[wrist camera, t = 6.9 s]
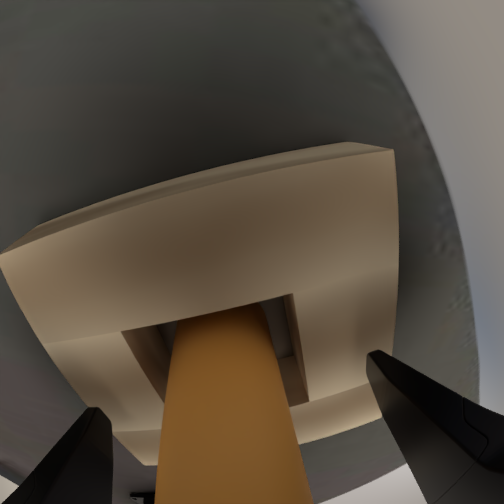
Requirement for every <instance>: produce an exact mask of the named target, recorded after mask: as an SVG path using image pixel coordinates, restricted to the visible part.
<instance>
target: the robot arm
mask: <svg viewBox="0 0 504 504" xmlns="http://www.w3.org/2000/svg"><path fill="white" fill-rule="evenodd" d="M366 375H367V378H368V380H369V383H370V385H371V388H372V390H373V393H374V396H375V398H376V401H377V403H378V406H379V409H380V411H381V414H382V416H383V418H384V420H385V421H386V423H387V425H388V427H389V429H390V431H391V433H392V435H393V437H394V438H395V440H396V442H397V444H398V446H399V448H400V450H401V452H402V454H403V456H404V458H405V460H406V462H407V464H408V465H409V468H410V469H411V471H412V473H413V475H414V477H415V479H416V481H417V483H418V485H419V487H420V489H421V491H422V493H423V495H424V497H425V500H426V502H427V504H504V416H503V415H501V414H498V413H496V412H493V411H491V410H489V409H486V408H484V407H482V406H480V405H478V404H476V403H474V402H472V401H470V400H469V399H467V398H465V397H462V396H461V395H459V394H458V393H456V392H454V391H452V390H450V389H449V388H447V387H445V386H443V385H441V384H440V383H438V382H436V381H434V380H433V379H431V378H429V377H427V376H426V375H424V374H422V373H420V372H418V371H417V370H415V369H413V368H411V367H410V366H408V365H406V364H404V363H403V362H401V361H399V360H397V359H396V358H394V357H392V356H390V355H389V354H387V353H385V352H384V351H382V350H379V349H377V350H374V351H371V352H369V353H368V354H367V356H366ZM112 480H113V440H112V423H111V421H110V419H109V418H108V417H107V416H106V414H105V413H104V412H103V411H102V410H101V409H100V408H99V407H88V408H87V409H86V410H85V411H84V412H83V414H82V415H81V416H80V417H79V418H78V419H77V420H76V422H75V423H74V424H73V425H72V426H71V427H70V428H69V430H68V431H67V432H66V433H65V434H64V435H63V436H62V438H61V439H60V440H59V441H58V442H57V443H56V445H55V446H54V447H53V448H52V449H51V450H50V451H49V453H48V454H47V455H46V456H45V457H44V458H43V460H42V461H41V462H40V463H39V464H38V465H37V467H36V468H35V469H34V470H33V471H32V472H31V474H30V475H29V476H28V477H27V478H26V479H25V480H24V482H23V483H22V484H21V485H20V486H19V487H18V488H17V489H16V490H15V491H14V492H13V493H12V494H11V495H10V496H9V497H8V498H7V499H6V500H5V501H4V502H3V503H2V504H112ZM130 499H131V500H133V501H135V502H136V503H138V504H155V495H153V494H130Z"/></svg>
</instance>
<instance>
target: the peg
mask: <svg viewBox="0 0 504 504" xmlns="http://www.w3.org/2000/svg"><path fill="white" fill-rule="evenodd" d="M155 504H314V503H313V499H312V495H311V491H310V487H309V483H308V480H307V476H306V472H305V468H304V464H303V460H302V456H301V452H300V448H299V444H298V441H297V437H296V433H295V429H294V425H293V421H292V417H291V413H290V409H289V405H288V401H287V397H286V393H285V390H284V386H283V382H282V378H281V374H280V370H279V366H278V362H277V358H276V354H275V350H274V346H273V342H272V338H271V334H270V330H269V327H268V323H267V319H266V315H265V312H264V310H263V308H262V307H261V305H260V304H259V303H258V302H255V303H251V304H247V305H242V306H238V307H234V308H230V309H225V310H221V311H217V312H212V313H208V314H203V315H199V316H194V317H190V318H185V319H180V320H177V326H176V332H175V338H174V343H173V350H172V356H171V362H170V369H169V375H168V382H167V389H166V396H165V404H164V412H163V420H162V428H161V437H160V446H159V456H158V466H157V478H156V490H155Z"/></svg>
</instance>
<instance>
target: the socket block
mask: <svg viewBox="0 0 504 504" xmlns="http://www.w3.org/2000/svg"><path fill="white" fill-rule="evenodd" d="M0 268H1V270H2V272H3V274H4V276H5V279H6V281H7V283H8V285H9V287H10V289H11V291H12V293H13V295H14V297H15V299H16V301H17V302H18V304H19V306H20V308H21V310H22V312H23V313H24V315H25V317H26V319H27V320H28V322H29V324H30V326H31V327H32V329H33V331H34V332H35V334H36V336H37V337H38V339H39V340H40V342H41V343H42V345H43V347H44V348H45V350H46V351H47V353H48V354H49V356H50V357H51V359H52V360H53V362H54V363H55V364H56V366H57V367H58V369H59V370H60V371H61V373H62V374H63V376H64V377H65V378H66V380H67V381H68V382H69V384H70V385H71V386H72V387H73V389H74V390H75V391H76V393H77V394H78V395H79V396H80V398H81V399H82V400H83V401H84V403H85V404H86V405H87V406H88V407H99V408H100V409H101V410H102V411H103V412H104V413H105V414H106V416H107V417H108V418H109V419H110V421H111V423H112V434H113V435H114V436H115V437H116V438H117V439H118V440H119V441H120V442H121V443H122V444H123V445H124V446H125V447H126V448H127V449H128V450H129V451H130V452H131V453H132V454H133V455H134V456H135V457H136V458H137V459H138V460H139V461H140V462H141V463H142V464H144V465H158V456H159V446H160V437H161V428H162V420H163V412H164V404H165V396H166V389H167V382H168V375H169V369H170V362H171V356H172V350H173V343H174V338H175V332H176V326H177V320H180V319H185V318H190V317H194V316H199V315H203V314H208V313H212V312H217V311H221V310H225V309H230V308H234V307H238V306H242V305H247V304H251V303H255V302H258V303H259V304H260V305H261V307H262V308H263V310H264V312H265V315H266V319H267V323H268V327H269V330H270V334H271V338H272V342H273V346H274V350H275V354H276V358H277V362H278V366H279V370H280V374H281V378H282V382H283V386H284V390H285V393H286V397H287V401H288V405H289V409H290V413H291V417H292V421H293V425H294V429H295V433H296V437H297V441H298V444H303V443H307V442H310V441H314V440H317V439H321V438H324V437H328V436H331V435H334V434H337V433H340V432H343V431H346V430H349V429H352V428H355V427H358V426H361V425H363V424H366V423H369V422H371V421H374V420H376V419H379V418H381V416H382V414H381V411H380V409H379V406H378V403H377V401H376V398H375V396H374V393H373V390H372V388H371V385H370V383H369V380H368V378H367V375H366V356H367V354H368V353H369V352H371V351H374V350H377V349H379V350H382V351H384V352H385V353H387V354H389V355H390V356H392V349H393V341H394V331H395V321H396V308H397V293H398V269H399V219H398V195H397V180H396V168H395V157H394V150H393V149H388V148H383V147H378V146H372V145H367V144H361V143H355V142H349V141H348V142H341V143H335V144H328V145H322V146H316V147H310V148H305V149H299V150H294V151H289V152H283V153H278V154H273V155H269V156H264V157H259V158H254V159H250V160H245V161H241V162H237V163H232V164H228V165H224V166H220V167H216V168H212V169H208V170H204V171H200V172H196V173H193V174H189V175H185V176H181V177H178V178H174V179H171V180H167V181H164V182H160V183H157V184H154V185H150V186H147V187H144V188H140V189H137V190H134V191H131V192H128V193H125V194H122V195H119V196H116V197H113V198H110V199H107V200H104V201H101V202H98V203H95V204H92V205H90V206H87V207H84V208H81V209H78V210H76V211H73V212H70V213H68V214H65V215H63V216H60V217H57V218H55V219H52V220H50V221H47V222H45V223H42V224H40V225H38V226H36V227H35V228H33V229H32V230H31V231H29V232H28V233H26V234H25V235H24V236H22V237H21V238H19V239H18V240H17V241H15V242H14V243H13V244H11V245H10V246H9V247H8V248H6V249H5V250H4V251H2V252H1V253H0Z"/></svg>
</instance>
